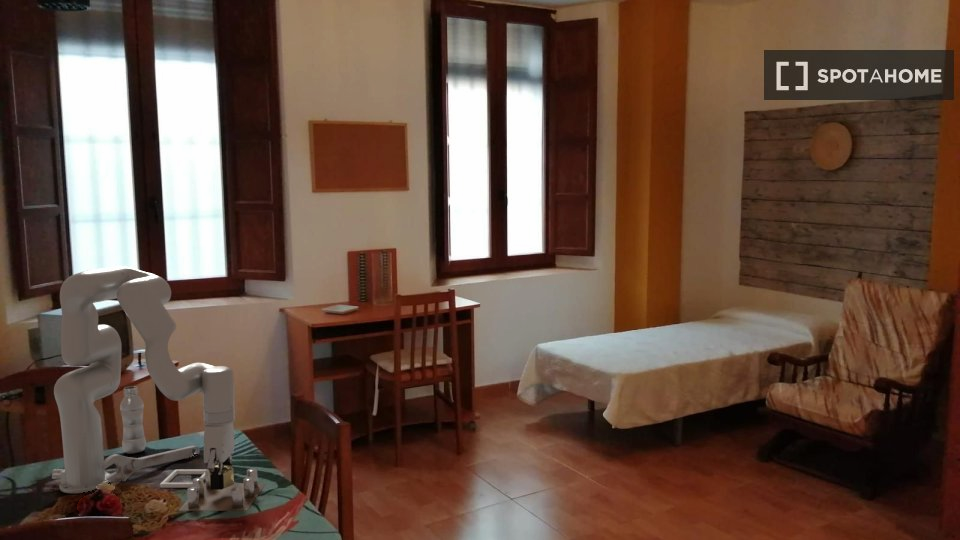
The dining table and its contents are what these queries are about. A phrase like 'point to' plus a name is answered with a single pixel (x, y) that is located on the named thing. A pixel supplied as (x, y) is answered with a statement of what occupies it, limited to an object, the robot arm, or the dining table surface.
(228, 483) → the nut
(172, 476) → the white square frame
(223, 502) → the board
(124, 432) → the plastic bottle
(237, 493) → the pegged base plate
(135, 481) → the dining table surface
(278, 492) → the dining table surface
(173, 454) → the wrench
